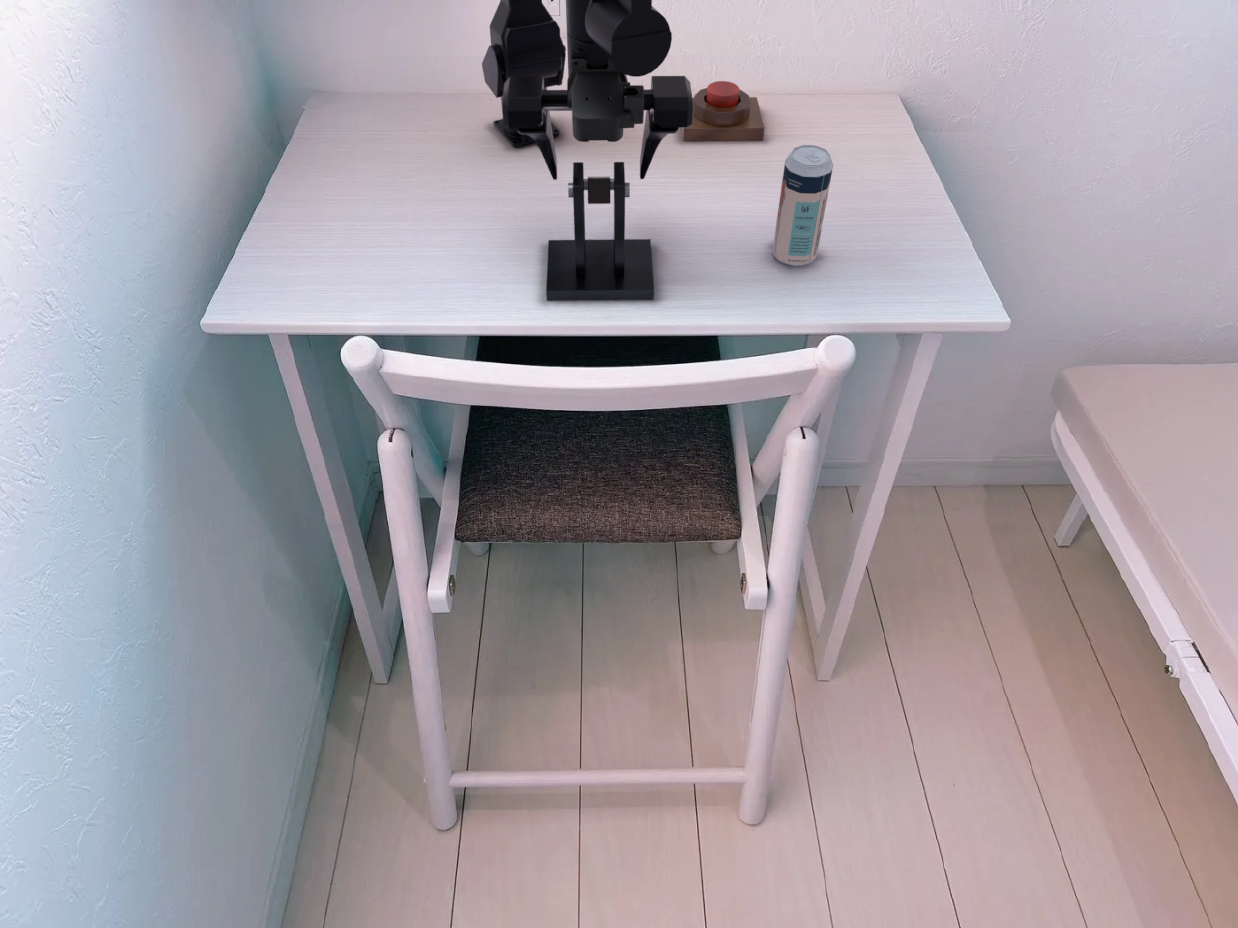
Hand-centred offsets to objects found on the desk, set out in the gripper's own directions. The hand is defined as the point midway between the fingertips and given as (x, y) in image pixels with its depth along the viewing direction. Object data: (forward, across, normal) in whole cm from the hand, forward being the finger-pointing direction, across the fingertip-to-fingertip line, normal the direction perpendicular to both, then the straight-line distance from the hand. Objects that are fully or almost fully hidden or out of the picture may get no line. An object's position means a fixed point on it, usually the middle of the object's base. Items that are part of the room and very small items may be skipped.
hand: (598, 177), depth 104 cm
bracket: (+6, 0, -8) cm, 10 cm away
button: (+4, +16, +23) cm, 28 cm away
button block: (+7, +16, +23) cm, 29 cm away
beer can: (+7, +21, -5) cm, 23 cm away
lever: (0, 0, -5) cm, 5 cm away
